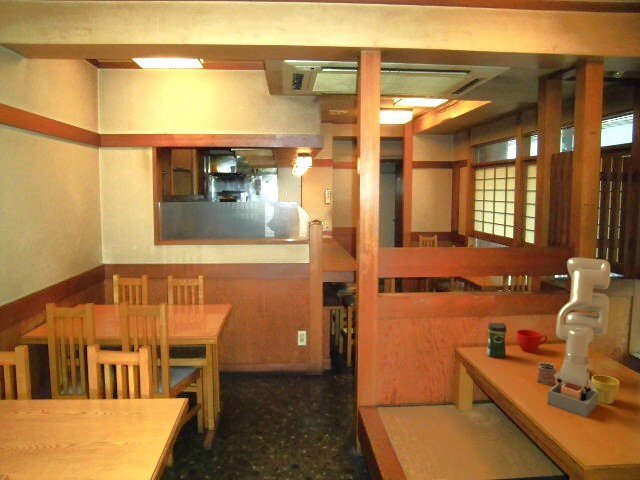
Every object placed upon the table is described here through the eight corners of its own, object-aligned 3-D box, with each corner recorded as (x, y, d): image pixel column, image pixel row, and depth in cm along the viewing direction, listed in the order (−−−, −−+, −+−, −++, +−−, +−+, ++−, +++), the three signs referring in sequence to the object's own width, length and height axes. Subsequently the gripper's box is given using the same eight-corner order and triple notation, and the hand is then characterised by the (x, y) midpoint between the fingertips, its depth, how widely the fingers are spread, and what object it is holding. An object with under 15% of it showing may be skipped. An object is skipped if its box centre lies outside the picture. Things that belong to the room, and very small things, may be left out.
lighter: (554, 382, 211) (555, 362, 209) (555, 385, 207) (557, 365, 206) (535, 380, 213) (537, 360, 212) (536, 383, 210) (538, 363, 209)
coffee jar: (503, 353, 247) (504, 321, 245) (506, 358, 239) (508, 325, 237) (485, 352, 248) (486, 320, 246) (488, 357, 241) (490, 325, 238)
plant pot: (591, 392, 201) (593, 372, 199) (619, 399, 194) (621, 378, 193) (588, 401, 193) (590, 380, 192) (616, 408, 186) (618, 387, 185)
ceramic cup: (551, 354, 245) (553, 337, 244) (521, 354, 246) (522, 337, 244) (540, 346, 258) (541, 329, 257) (511, 345, 258) (512, 329, 257)
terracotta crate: (567, 393, 195) (568, 380, 194) (585, 398, 190) (586, 385, 189) (560, 399, 189) (561, 386, 188) (578, 405, 184) (579, 392, 183)
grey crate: (560, 392, 200) (561, 380, 199) (597, 405, 189) (598, 392, 188) (547, 403, 190) (548, 390, 189) (586, 417, 179) (587, 403, 178)
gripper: (602, 362, 183) (598, 402, 185) (557, 350, 196) (554, 388, 198) (596, 366, 178) (592, 408, 180) (551, 354, 191) (548, 393, 193)
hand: (572, 397), depth 189 cm, fingers closed on terracotta crate, 7 cm apart
